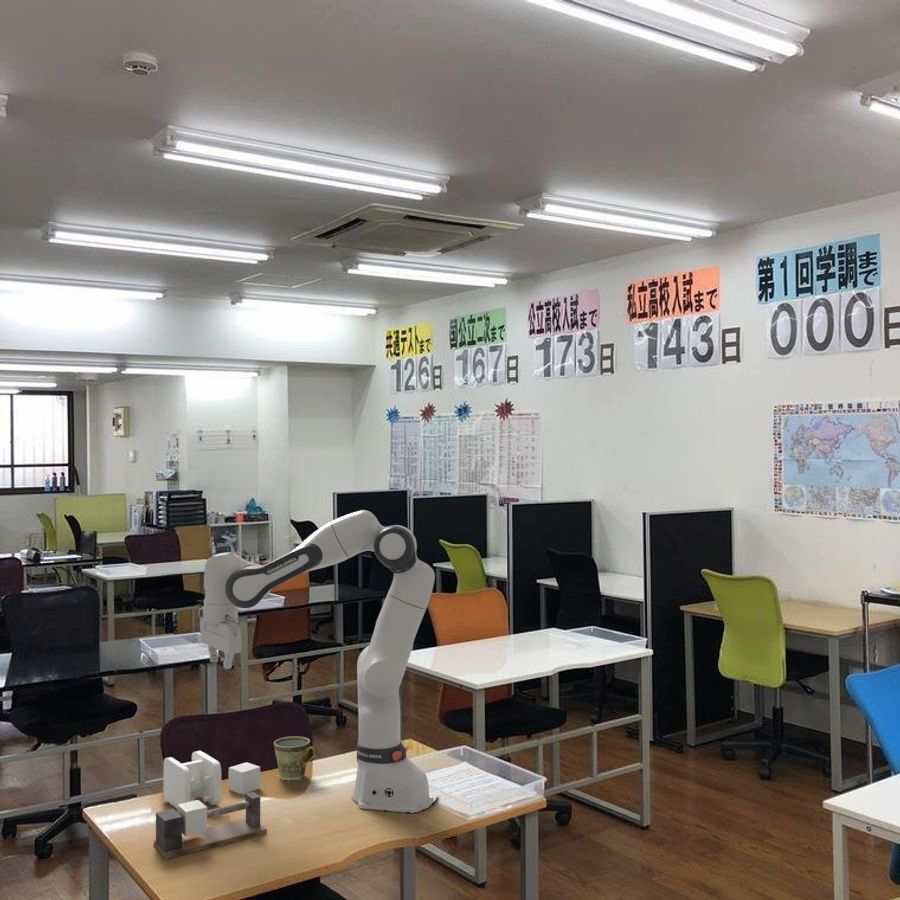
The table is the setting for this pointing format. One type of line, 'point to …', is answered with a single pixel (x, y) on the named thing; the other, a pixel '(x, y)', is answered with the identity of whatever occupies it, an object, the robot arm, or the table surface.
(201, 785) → the cable organizer
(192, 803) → the white cube
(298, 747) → the ceramic cup
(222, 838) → the rail
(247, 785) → the light gray cube
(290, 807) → the table surface
